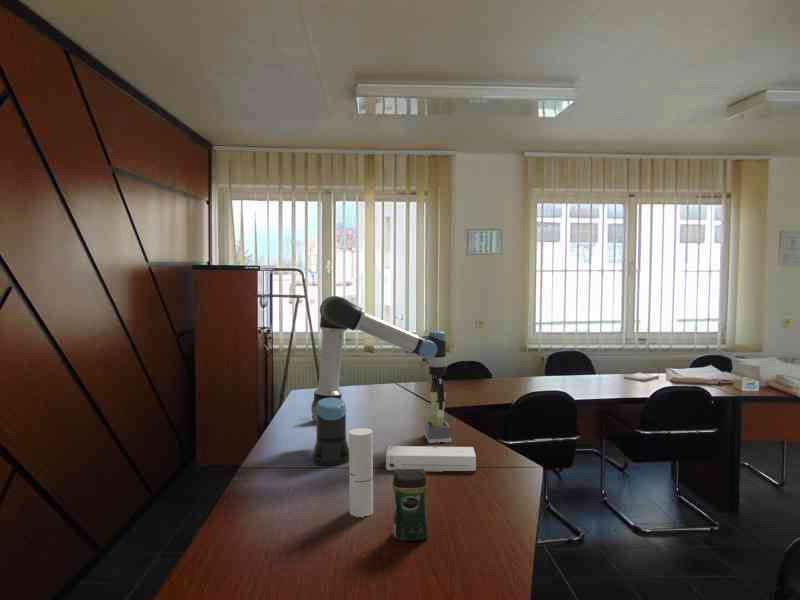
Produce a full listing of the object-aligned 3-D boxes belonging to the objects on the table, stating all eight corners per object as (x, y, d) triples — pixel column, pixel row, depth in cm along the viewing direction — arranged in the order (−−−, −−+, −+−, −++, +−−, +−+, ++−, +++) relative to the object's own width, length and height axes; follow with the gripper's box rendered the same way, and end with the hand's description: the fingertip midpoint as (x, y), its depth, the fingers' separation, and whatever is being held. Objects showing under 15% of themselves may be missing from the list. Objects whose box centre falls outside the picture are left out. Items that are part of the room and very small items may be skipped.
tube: (437, 432, 232) (437, 390, 231) (445, 434, 229) (446, 391, 228) (429, 435, 228) (429, 392, 227) (438, 437, 224) (438, 393, 224)
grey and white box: (451, 442, 223) (451, 427, 223) (428, 443, 222) (428, 428, 221) (445, 434, 235) (445, 420, 234) (424, 434, 234) (424, 420, 233)
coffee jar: (426, 528, 145) (426, 464, 144) (428, 542, 137) (428, 475, 136) (393, 528, 145) (392, 464, 144) (392, 542, 137) (392, 475, 136)
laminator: (473, 462, 199) (473, 446, 199) (476, 474, 187) (476, 457, 187) (387, 461, 201) (387, 445, 200) (385, 472, 188) (385, 456, 188)
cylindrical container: (360, 504, 160) (360, 426, 160) (377, 511, 156) (377, 431, 155) (344, 512, 155) (344, 432, 154) (361, 519, 150) (361, 436, 149)
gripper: (451, 370, 215) (451, 420, 216) (440, 361, 240) (440, 405, 240) (434, 370, 214) (434, 420, 215) (424, 361, 239) (424, 406, 240)
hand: (437, 412), depth 228 cm, fingers open, 13 cm apart
